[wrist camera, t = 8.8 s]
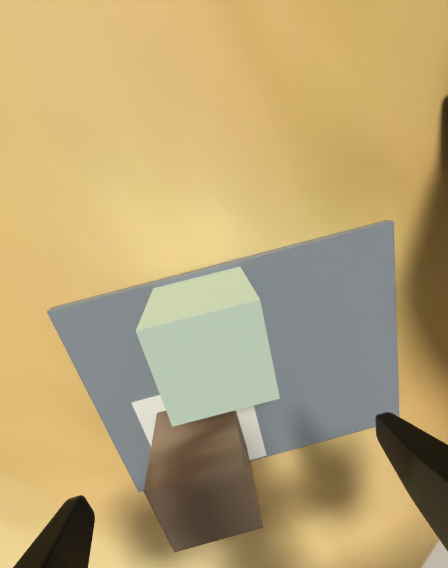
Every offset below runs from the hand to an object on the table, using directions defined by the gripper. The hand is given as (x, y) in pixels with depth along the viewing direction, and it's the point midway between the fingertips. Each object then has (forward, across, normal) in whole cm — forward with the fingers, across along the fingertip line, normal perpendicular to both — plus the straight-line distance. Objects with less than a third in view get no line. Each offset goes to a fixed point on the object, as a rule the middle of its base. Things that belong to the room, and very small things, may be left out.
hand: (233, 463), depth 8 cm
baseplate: (+10, -1, +4) cm, 10 cm away
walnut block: (+9, +3, +8) cm, 12 cm away
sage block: (+9, 0, -1) cm, 9 cm away
